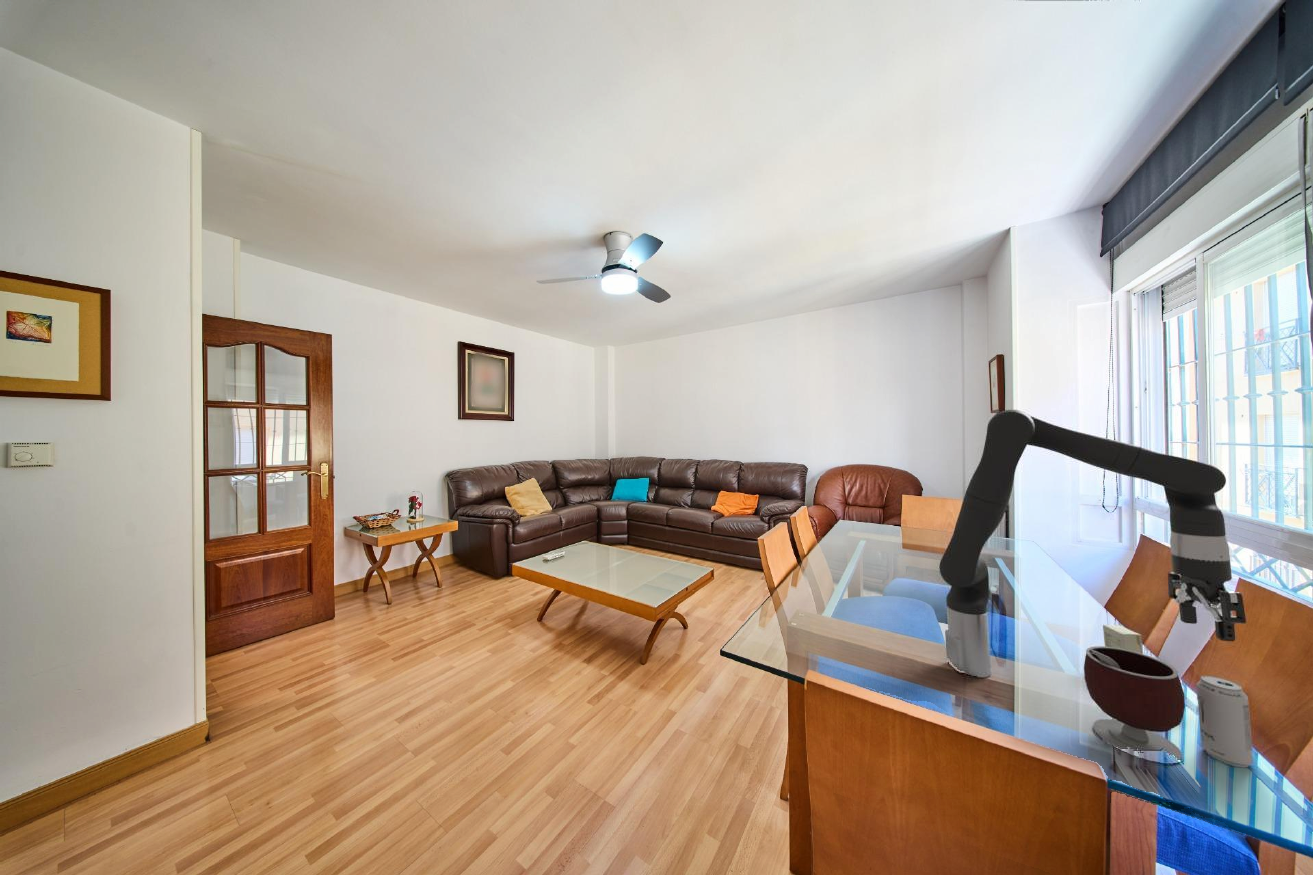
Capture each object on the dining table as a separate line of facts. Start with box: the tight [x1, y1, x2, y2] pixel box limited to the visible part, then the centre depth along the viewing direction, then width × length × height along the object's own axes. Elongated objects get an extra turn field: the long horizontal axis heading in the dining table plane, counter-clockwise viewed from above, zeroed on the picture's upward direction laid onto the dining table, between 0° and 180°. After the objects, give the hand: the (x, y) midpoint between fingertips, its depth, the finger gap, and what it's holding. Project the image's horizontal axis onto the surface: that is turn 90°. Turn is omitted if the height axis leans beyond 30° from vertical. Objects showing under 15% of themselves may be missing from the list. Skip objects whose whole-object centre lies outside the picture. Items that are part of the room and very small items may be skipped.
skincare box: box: [1102, 624, 1144, 654], centre depth 109 cm, size 6×4×12 cm
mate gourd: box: [1083, 645, 1186, 761], centre depth 86 cm, size 16×14×20 cm
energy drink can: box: [1196, 675, 1254, 768], centre depth 81 cm, size 6×6×15 cm
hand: (1206, 630), depth 85 cm, fingers open, 8 cm apart
